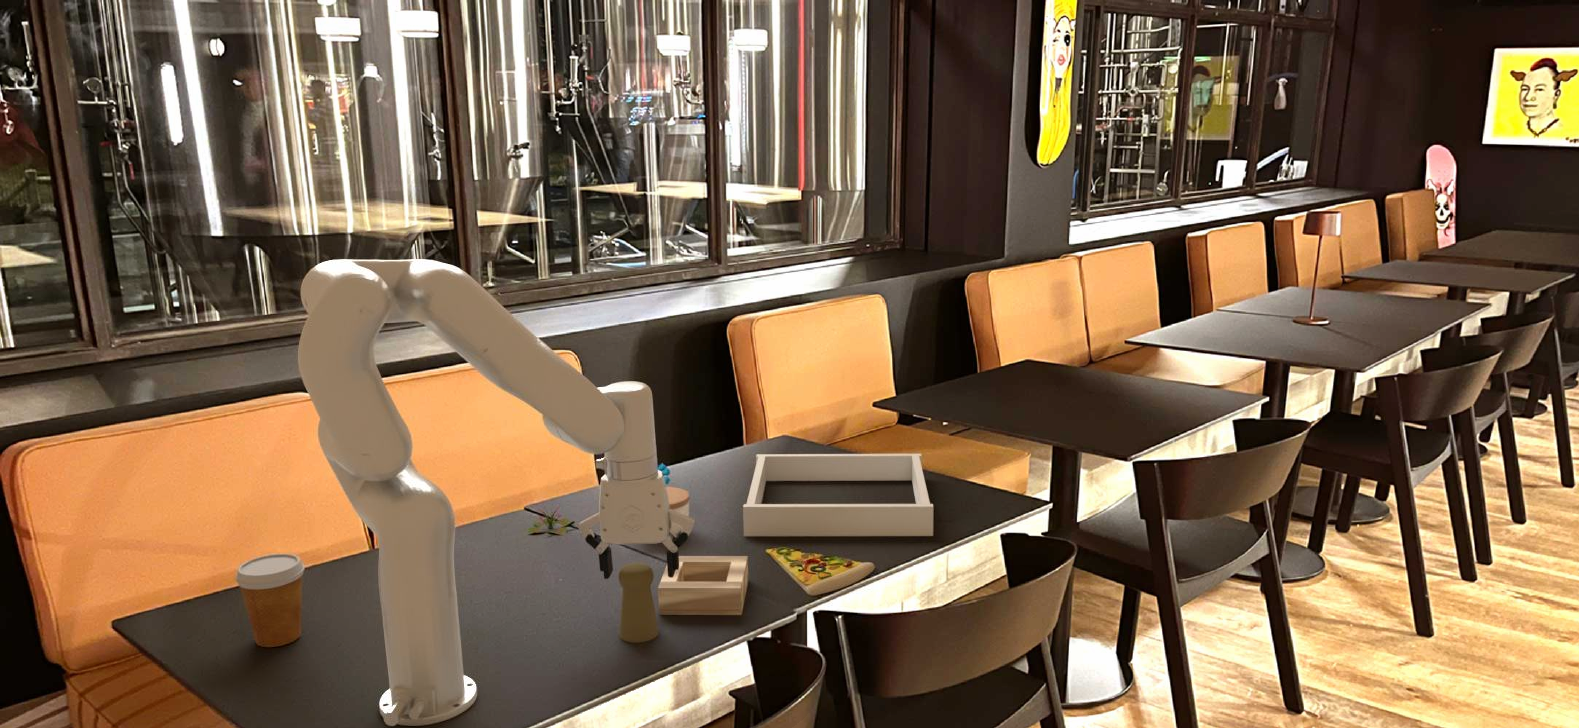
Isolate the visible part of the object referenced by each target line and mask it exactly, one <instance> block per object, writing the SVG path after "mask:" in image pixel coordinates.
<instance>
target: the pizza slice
mask: <svg viewBox="0 0 1579 728" xmlns="http://www.w3.org/2000/svg"><path fill="white" fill-rule="evenodd" d="M765 553H766V554H768V555H769V556H771V558H772V559H773V560H774V561H775V562H776V563H777V564H778V565H779V566H780V567H781V568H782V569H783V570H784V571H785V572H786V573H787V574H788V575H789V576H790V577H791V578H792V579H793V580H794V581H795V582H796V583H797V584H798V585H799V586H800V587H801V588H802V589H803V590H804V592H805V593H806V594H808V595H809V596H819V595H821V594H822V595H823V594H826V593H830V592H833V591H838V590H839V589H842V588H845V587H848V586H850V585H853V584H855V583H857V582H859V581H860V580H862V579H864V578H865V577H867V576H868V575H870V574H871V573H872V572H874V570H875V569H876V567H875V564H874V563H873V562H869V561H868V562H861V561H854V560H852V559H851V558H845V557H837V556H835V555H832V554H821V553H819V554H817V553H811V552H804V551H803V550H802V549H800V548H796V549H791V548H789V547H786V546H779V547H777V548H776V547H774V548H770V549H766V550H765Z"/></svg>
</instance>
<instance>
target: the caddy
mask: <svg viewBox="0 0 1579 728" xmlns="http://www.w3.org/2000/svg"><path fill="white" fill-rule="evenodd" d="M748 557H749V556H748V555H679V569H678V570H676V571H675V573H674V576H673V578H670V577H668V569H667V565H666V567H665V569H664V572H663V574H662V577H661V580H660V581H659V584H658V587H657V595H658V598H657V599H658V600H657V601H658V615H659V616H665V615H666V616H670V615H671V616H674V615H677V616H687V615H688V616H742V614H743V610H744V606H745V605H744V604H745V599H746V594H747V589H748V583H749V562H748V561H749V558H748Z"/></svg>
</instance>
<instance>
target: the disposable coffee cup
mask: <svg viewBox="0 0 1579 728" xmlns="http://www.w3.org/2000/svg"><path fill="white" fill-rule="evenodd" d="M305 567H306V566H305V564H304V563H303V562H302V560H301V557H300V556H299V555H298V554H297V555H296V554H294V553H293V554H292V553H270V554H264V555H260V556H258V557H257V556H256V557H254V558H251V559H249V560H246V561H245V562H243V563H242V564H239V566H238V567H237V573H236V575H235V578H234V580H235V582H236V583H237V585H238V586H239V587H240V591H241V594H242V599H243V601H244V606H245V609H246V612H247V616H248V619H249V622H250V626H251V630H252V633H253V637H254V641H255V643H256V645H257V646H260V647H262V648H273V647H280V646H281V647H282V646H284V645H288V644H290V643H293V642H294V641H296V640H297V639H299V638H300V637H301V635H302V599H303V598H302V597H303V593H302V592H303V589H302V588H303V575H304V571H305V570H306V569H305Z"/></svg>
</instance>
